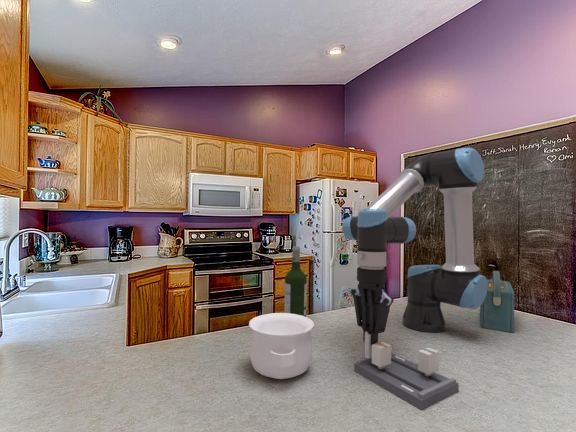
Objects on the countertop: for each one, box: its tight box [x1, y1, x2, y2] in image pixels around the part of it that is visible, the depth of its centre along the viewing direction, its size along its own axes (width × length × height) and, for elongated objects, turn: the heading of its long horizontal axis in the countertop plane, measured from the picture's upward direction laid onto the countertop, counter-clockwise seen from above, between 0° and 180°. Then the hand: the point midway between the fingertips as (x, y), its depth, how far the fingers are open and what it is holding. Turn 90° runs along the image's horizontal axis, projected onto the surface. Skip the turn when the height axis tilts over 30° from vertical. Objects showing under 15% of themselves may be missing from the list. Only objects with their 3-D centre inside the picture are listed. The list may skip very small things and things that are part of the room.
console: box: [353, 350, 460, 411], centre depth 79 cm, size 20×14×3 cm
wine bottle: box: [283, 245, 308, 317], centre depth 115 cm, size 8×8×30 cm
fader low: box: [372, 341, 392, 369], centre depth 81 cm, size 3×4×6 cm
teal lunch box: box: [479, 270, 515, 333], centre depth 127 cm, size 26×11×20 cm, turn 148°
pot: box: [248, 312, 315, 380], centre depth 84 cm, size 22×17×12 cm
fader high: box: [417, 347, 440, 376], centre depth 77 cm, size 3×4×6 cm
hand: (370, 356), depth 84 cm, fingers closed
